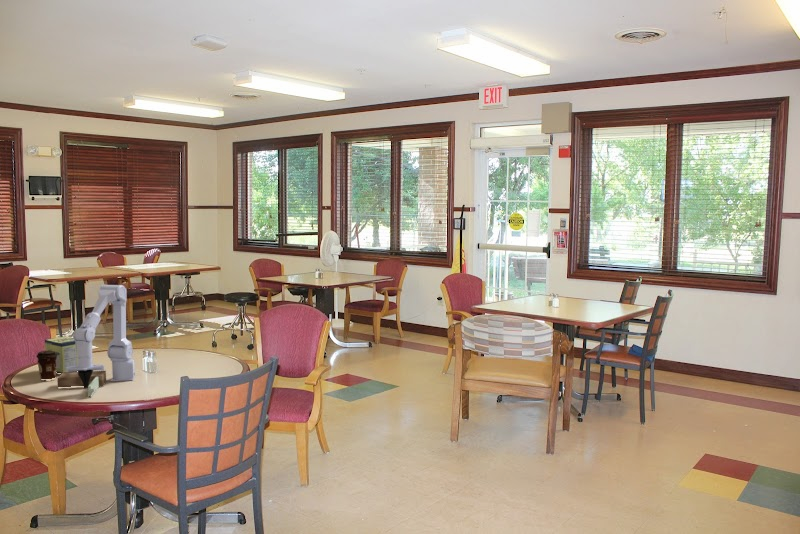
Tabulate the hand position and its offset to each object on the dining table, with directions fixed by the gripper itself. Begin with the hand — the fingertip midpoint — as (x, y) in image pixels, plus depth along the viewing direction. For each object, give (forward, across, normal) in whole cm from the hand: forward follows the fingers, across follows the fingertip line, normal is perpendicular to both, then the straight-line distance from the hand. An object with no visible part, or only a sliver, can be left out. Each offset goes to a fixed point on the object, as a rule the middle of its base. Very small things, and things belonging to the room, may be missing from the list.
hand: (86, 387), depth 285 cm
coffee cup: (+3, -21, +28) cm, 35 cm away
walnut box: (+2, -4, +14) cm, 15 cm away
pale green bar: (+2, +3, +1) cm, 4 cm away
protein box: (+3, -17, +43) cm, 46 cm away
